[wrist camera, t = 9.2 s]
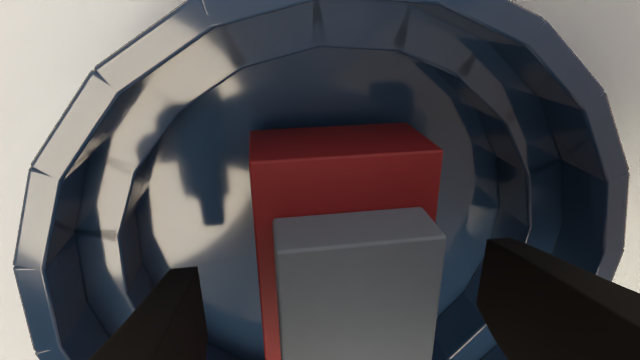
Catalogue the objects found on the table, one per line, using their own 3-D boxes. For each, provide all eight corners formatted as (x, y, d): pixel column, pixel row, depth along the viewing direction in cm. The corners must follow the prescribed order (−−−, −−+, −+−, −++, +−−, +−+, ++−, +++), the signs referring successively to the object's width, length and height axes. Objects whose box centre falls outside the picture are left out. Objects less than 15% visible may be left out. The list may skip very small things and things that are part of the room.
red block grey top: (399, 116, 12) (476, 173, 8) (386, 313, 14) (439, 432, 10) (249, 123, 11) (247, 189, 7) (265, 327, 14) (271, 458, 10)
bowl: (587, -3, 12) (727, -6, 8) (481, 371, 17) (540, 463, 14) (42, -49, 9) (-79, -80, 6) (117, 399, 15) (76, 519, 11)
